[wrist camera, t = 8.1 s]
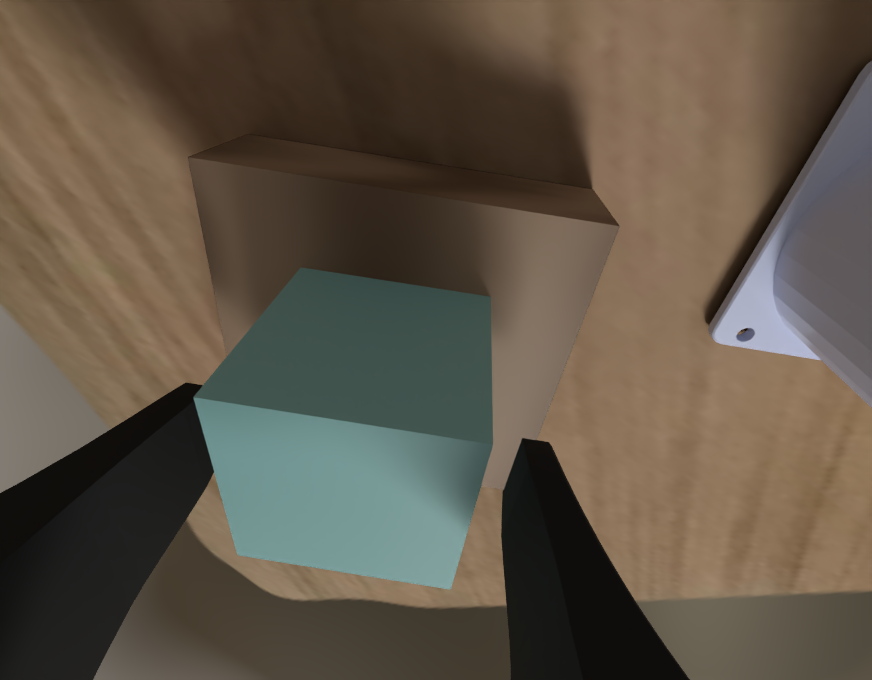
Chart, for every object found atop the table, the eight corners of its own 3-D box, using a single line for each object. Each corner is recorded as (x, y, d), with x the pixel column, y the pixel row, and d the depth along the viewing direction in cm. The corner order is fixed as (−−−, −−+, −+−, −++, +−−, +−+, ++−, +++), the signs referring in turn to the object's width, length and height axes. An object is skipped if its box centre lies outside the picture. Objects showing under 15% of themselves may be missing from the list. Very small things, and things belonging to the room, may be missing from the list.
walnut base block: (592, 189, 12) (620, 226, 10) (512, 430, 18) (516, 491, 16) (247, 134, 12) (187, 157, 10) (277, 392, 18) (244, 447, 16)
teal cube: (490, 296, 11) (493, 444, 7) (461, 429, 14) (450, 589, 10) (300, 267, 11) (193, 396, 7) (310, 405, 14) (237, 555, 10)
